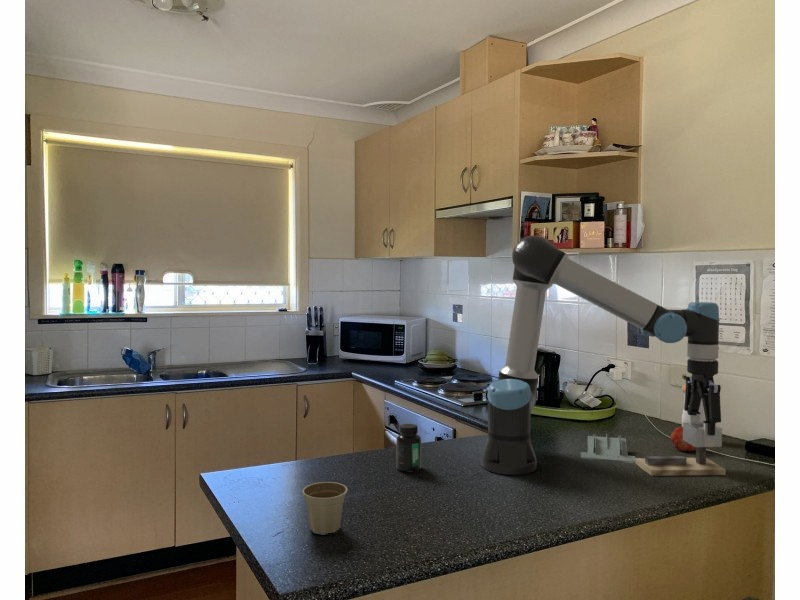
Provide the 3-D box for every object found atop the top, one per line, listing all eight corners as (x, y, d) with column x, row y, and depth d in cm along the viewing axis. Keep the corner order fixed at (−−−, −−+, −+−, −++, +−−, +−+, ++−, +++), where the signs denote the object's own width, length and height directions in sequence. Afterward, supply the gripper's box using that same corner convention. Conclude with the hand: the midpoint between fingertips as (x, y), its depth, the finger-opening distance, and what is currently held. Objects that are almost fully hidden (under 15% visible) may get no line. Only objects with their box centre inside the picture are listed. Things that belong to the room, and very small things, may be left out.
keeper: (651, 475, 156) (651, 444, 156) (635, 463, 166) (635, 433, 166) (725, 474, 156) (726, 443, 156) (705, 462, 166) (705, 433, 166)
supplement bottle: (421, 472, 159) (421, 429, 159) (396, 472, 159) (396, 429, 159) (420, 464, 166) (420, 422, 166) (396, 464, 166) (396, 422, 166)
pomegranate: (666, 454, 181) (676, 442, 173) (665, 432, 185) (675, 419, 177) (692, 458, 180) (703, 446, 172) (690, 436, 184) (701, 423, 176)
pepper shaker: (675, 438, 190) (676, 379, 189) (691, 435, 193) (692, 378, 192) (694, 444, 184) (696, 383, 183) (710, 441, 187) (712, 381, 186)
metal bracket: (580, 428, 182) (632, 432, 178) (580, 445, 184) (632, 449, 180) (580, 454, 170) (636, 459, 165) (580, 472, 171) (635, 477, 167)
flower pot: (349, 519, 129) (348, 481, 129) (346, 539, 120) (346, 497, 119) (306, 520, 129) (305, 481, 128) (300, 540, 120) (299, 498, 119)
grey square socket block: (695, 447, 157) (696, 428, 157) (682, 439, 164) (682, 422, 164) (721, 446, 158) (721, 428, 157) (707, 439, 165) (707, 421, 164)
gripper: (738, 364, 150) (736, 453, 151) (697, 353, 170) (695, 432, 171) (709, 365, 150) (707, 453, 151) (671, 354, 170) (670, 432, 171)
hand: (701, 442), depth 161 cm, fingers closed on grey square socket block, 7 cm apart
